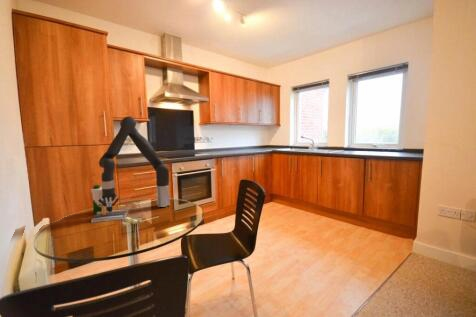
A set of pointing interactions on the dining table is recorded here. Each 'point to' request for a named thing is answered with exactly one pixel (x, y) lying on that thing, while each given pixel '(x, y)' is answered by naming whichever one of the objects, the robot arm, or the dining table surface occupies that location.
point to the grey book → (110, 215)
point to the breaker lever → (104, 211)
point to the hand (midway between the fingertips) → (110, 211)
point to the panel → (111, 218)
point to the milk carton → (96, 196)
